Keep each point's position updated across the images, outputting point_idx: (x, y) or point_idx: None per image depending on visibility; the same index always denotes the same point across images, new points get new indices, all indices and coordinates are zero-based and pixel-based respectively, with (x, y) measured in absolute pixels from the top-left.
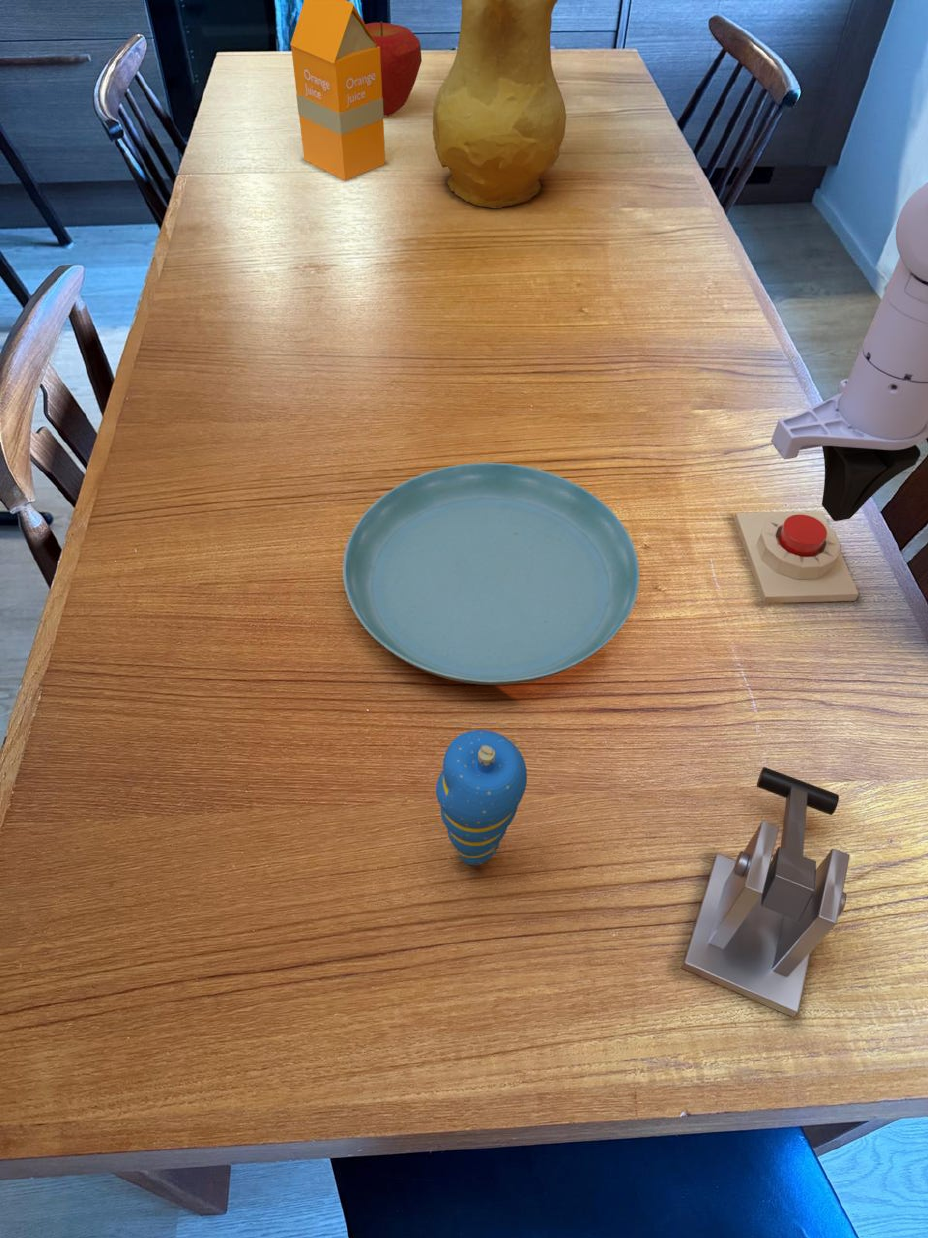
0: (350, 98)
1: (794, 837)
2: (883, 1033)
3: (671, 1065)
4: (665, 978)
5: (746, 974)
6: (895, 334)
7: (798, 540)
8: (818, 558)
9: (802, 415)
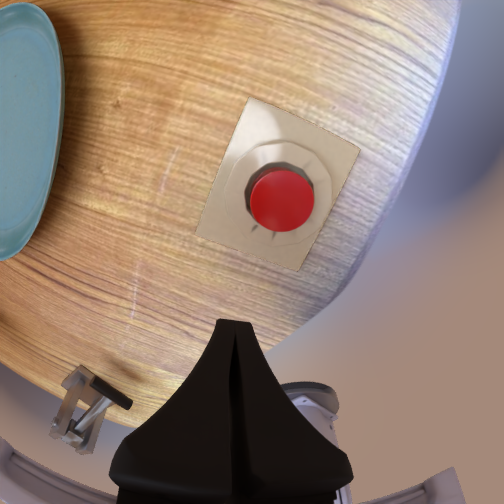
0: None
1: (85, 422)
2: (131, 421)
3: (58, 392)
4: (57, 379)
5: (82, 398)
6: None
7: (256, 217)
8: (276, 234)
9: (7, 500)
